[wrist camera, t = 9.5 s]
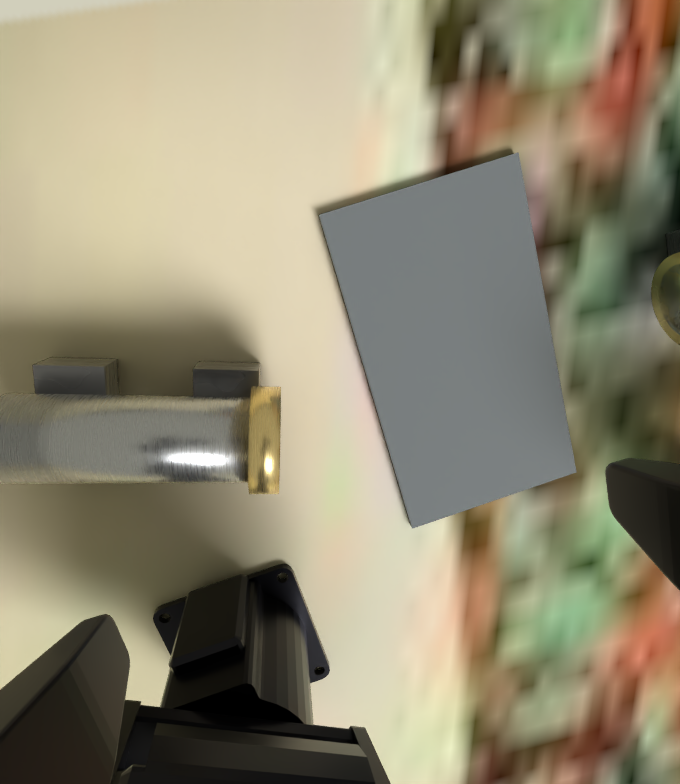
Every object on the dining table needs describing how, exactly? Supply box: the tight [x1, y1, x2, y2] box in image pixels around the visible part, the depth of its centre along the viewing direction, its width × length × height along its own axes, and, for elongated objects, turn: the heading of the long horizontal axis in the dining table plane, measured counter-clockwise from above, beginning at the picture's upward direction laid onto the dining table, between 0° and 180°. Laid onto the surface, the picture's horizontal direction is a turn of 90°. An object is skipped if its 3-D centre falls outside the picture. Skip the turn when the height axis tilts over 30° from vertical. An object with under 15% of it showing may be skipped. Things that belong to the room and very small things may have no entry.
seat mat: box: [319, 153, 576, 529], centre depth 21 cm, size 14×8×1 cm, turn 17°
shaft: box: [0, 357, 281, 494], centre depth 18 cm, size 9×4×5 cm, turn 87°
